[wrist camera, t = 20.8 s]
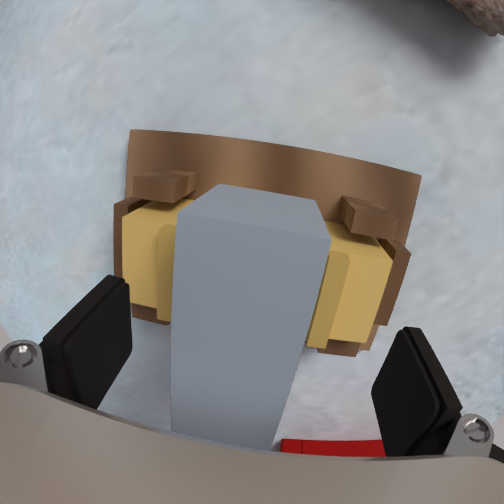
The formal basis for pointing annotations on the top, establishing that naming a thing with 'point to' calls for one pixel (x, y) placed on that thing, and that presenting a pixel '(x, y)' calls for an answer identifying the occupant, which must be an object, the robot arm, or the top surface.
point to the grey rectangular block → (241, 310)
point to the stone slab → (483, 14)
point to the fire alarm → (334, 448)
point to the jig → (277, 181)
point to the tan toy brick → (330, 293)
